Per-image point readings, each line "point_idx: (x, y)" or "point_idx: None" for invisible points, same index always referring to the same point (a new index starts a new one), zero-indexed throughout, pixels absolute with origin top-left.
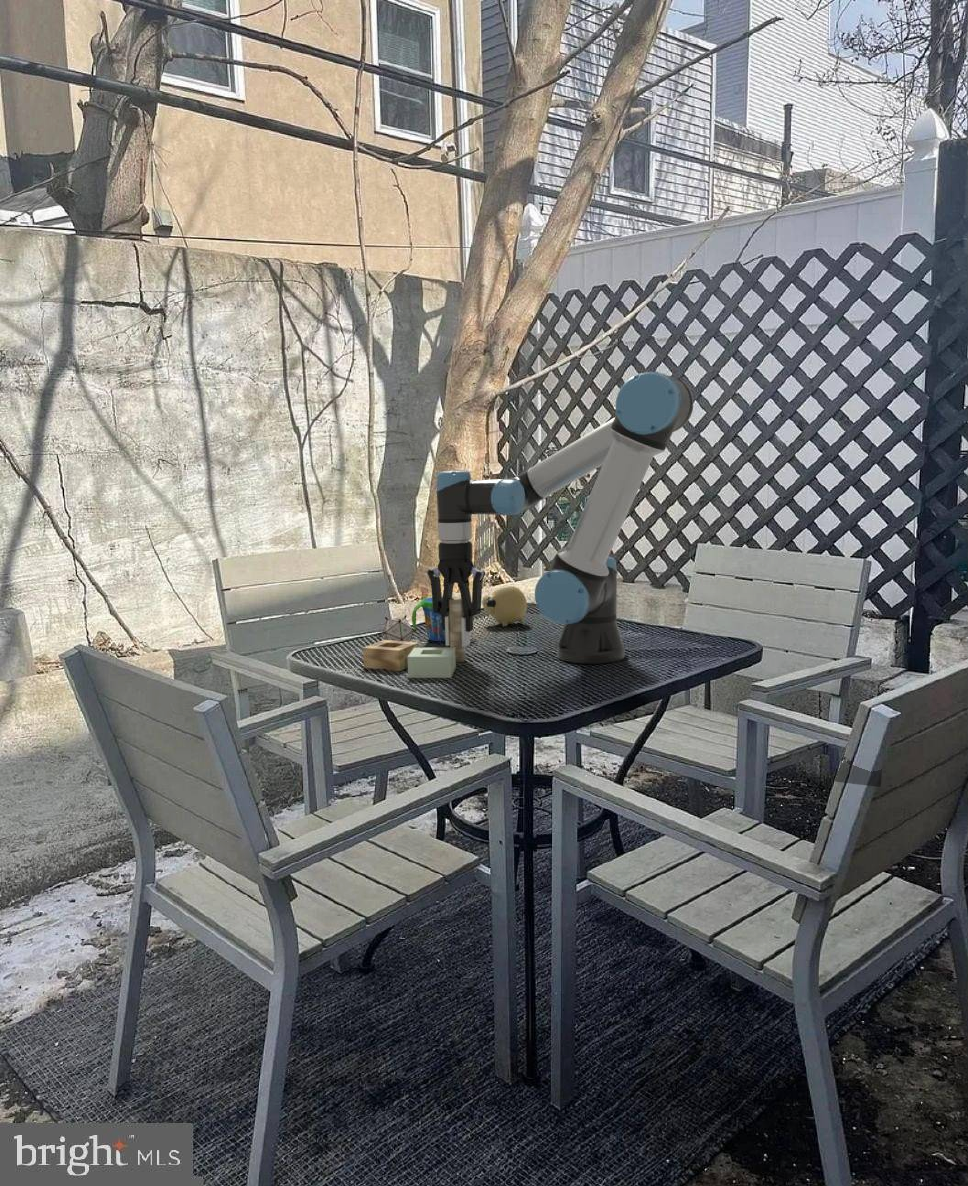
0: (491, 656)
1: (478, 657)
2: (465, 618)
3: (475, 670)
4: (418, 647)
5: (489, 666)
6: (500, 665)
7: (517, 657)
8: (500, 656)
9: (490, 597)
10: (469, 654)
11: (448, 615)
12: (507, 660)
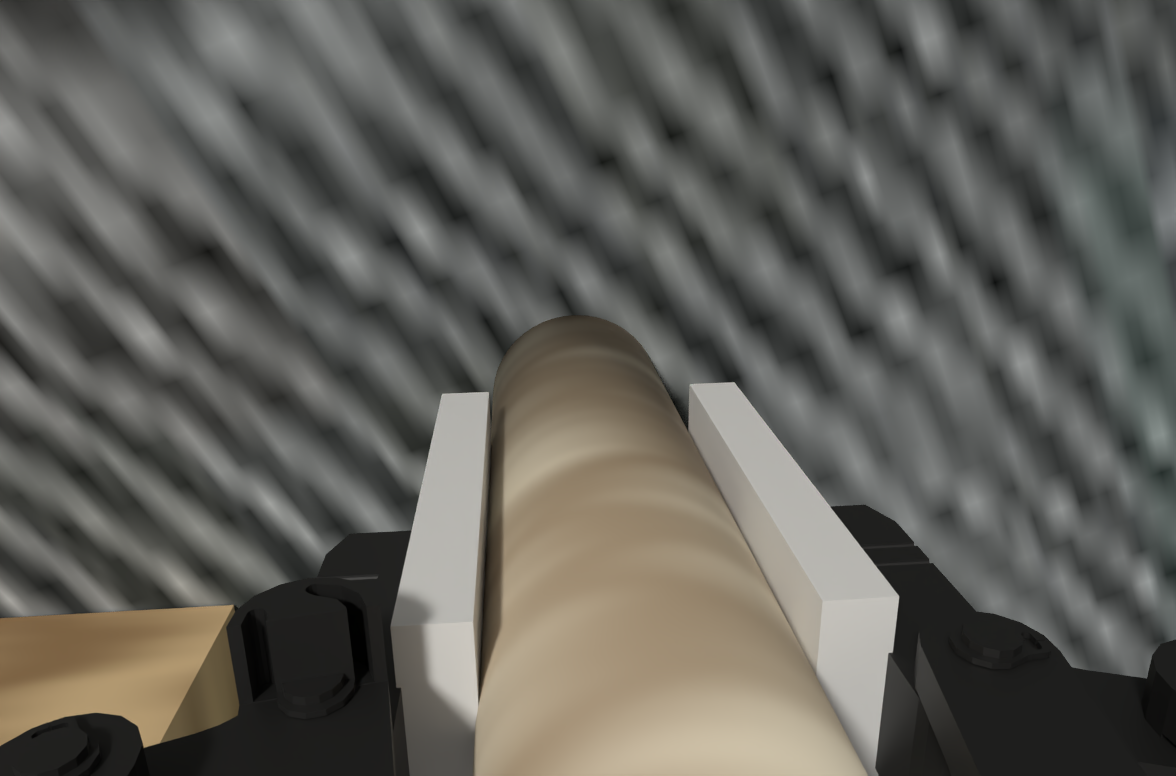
0: (855, 70)
1: (726, 177)
2: (870, 752)
3: None
4: (179, 720)
5: (978, 504)
6: (1070, 431)
7: (1168, 10)
8: (959, 30)
9: None
10: (552, 58)
11: (404, 722)
12: (1088, 201)
